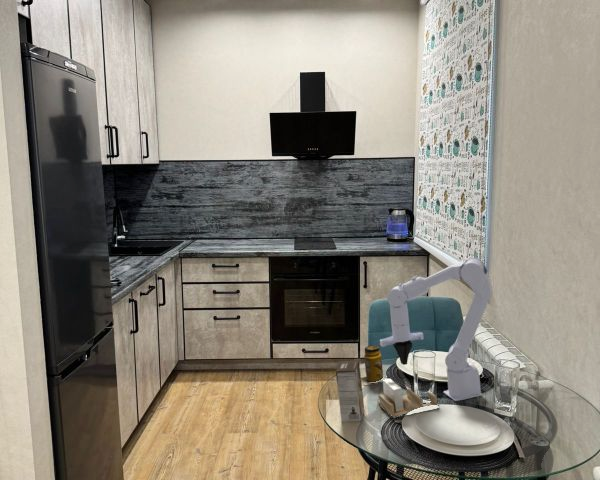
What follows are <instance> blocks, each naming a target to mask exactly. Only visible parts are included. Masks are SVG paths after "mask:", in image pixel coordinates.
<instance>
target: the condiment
mask: <svg viewBox="0 0 600 480" xmlns="http://www.w3.org/2000/svg"><path fill="white" fill-rule="evenodd" d="M363 358H364V367H365V368H364V369H365V376H363V377H361V383H362V385H364V386H369V385H372V384H371V383H368V382H376V381H379V380H381V379H382V378H383V377H384V371H383V363H382V362H383V361H382V360H383V359H382V354H381V350H380V347H379V345H367V346H366V347H364V357H363Z"/></svg>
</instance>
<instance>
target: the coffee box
mask: <svg viewBox="0 0 600 480" xmlns="http://www.w3.org/2000/svg"><path fill="white" fill-rule="evenodd" d="M335 376H336V386H337V392H338V393H337V394H338V406H339V413H340V420H341V422H343V423H344V422H361V421H363V420H362V419H363V415H364V412H365V411H364V410H365V405H364V404H365V402H364V394H363V383H362V382H361V376H362V375H361V365H360V360H357V359H356V360H355V359H354V360H340V361H338V365H337V367H336V369H335Z"/></svg>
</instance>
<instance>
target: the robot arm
mask: <svg viewBox="0 0 600 480" xmlns="http://www.w3.org/2000/svg"><path fill="white" fill-rule="evenodd" d="M449 280H456V281H461V280H463V282H465V283H466V284H468V286H470V288H471V290H472V292H473V293H474V295H473V297H472V301H471V303H470V305H469V308H468V310H467V313H466V314H465V317H464V319H463V323H462V325H461V327H460V330H459V333H458V335H457V338H456V340H455V342H454V343H453V344H452V345H451V346H450V347H449V349H448V351H447V355H446V356H445V360H444V361H445V365H446V377H447V388H448V389H447V390H444V391H443V394H445V395H446V396H448V397H449V398H450V399H452V400H453V401H454V402H459V401H463V400H467V399H472V398H477V397H481V396H483V394H482V391H481V381H480V380H481V379H480V373H479V371H478V368H477V367H476V366H475V365H473V364H469V362H468V358H469V356H470V352H469V351H470V347H471V345H472V342H473V341H474V338H475V335H476V332H477V330H478V327H479V325H480V323H481V320H482V318H483V315H484V313H485V310H486V308H487V305H488V304H489V301H490V298H491V295H492V293H493V289H492V285H491V280H490V276H489V270H488V268H487V266H486V265H485V263H484V262H483V261H482V260H481V259H480V258H478V257H470V258H468V259H466V260H461V261H458V262H457V263H454V264H452V265H449V266H447V267H445V268H443V269H441V270H440V271H438V272H435V273H433V274H431V275H429V276H427V277H422V276H416V275H415V276H413V277H411V280H409V281H406V282H404V283H399V284H398V285H397V286H396V285H395V286H394V287H393V288H392V289H391V290H389V292H388V294H387V296H386V299H387V303H388V304H389V314H390V321H391V324H390V325H391V333H392V334H391V336H388V337H385V338H382V339H379V345H380V346H381V347H382V348H385V347H386V346H390V345H391V346H393V348H394V349H395V351H396V353H397V355H398V357H399V360H400V364H401V365H403V366H404V365H405V366H407V365H408V360H409V354H410V353H411V352H410V351H411V349H413V348H412V347H413V342H412V341H416V340H420V341H421V340H424V333H423V332H421V331H420V332H411V330H410V329H411V328H410V320H409V319H410V318H409V310H408V309H409V308H408V302H409V301H413V300H414V299H417V298H419V297H421V296H424V295H426V294H428V292H429V289H430V288H432V287H434V286H437V285H439V284H442V283H445V282H447V281H449ZM407 301H408V302H407Z"/></svg>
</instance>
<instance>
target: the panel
mask: <svg viewBox="0 0 600 480" xmlns="http://www.w3.org/2000/svg"><path fill="white" fill-rule="evenodd" d="M382 387H383V388H382V389H383V396H384V397H385V398H386V399H387V400H388V401H390V402H391V403H392V404H393V405H394V411H396V412H398V411H403V410H404V408H403V398H402V396H403V389H402V387H401V386H400V385H398V383H396V382H395V381H393V380H392V379H391V378H385V380H383V382H382Z"/></svg>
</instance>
